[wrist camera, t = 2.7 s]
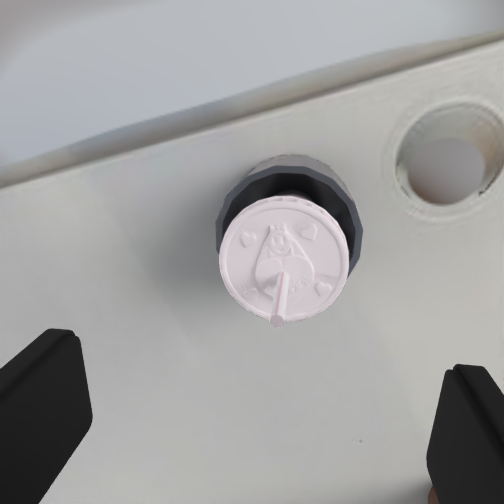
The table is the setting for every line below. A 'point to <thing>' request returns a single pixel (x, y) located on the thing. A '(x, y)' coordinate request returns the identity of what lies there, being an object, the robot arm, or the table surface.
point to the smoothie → (284, 258)
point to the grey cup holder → (302, 179)
